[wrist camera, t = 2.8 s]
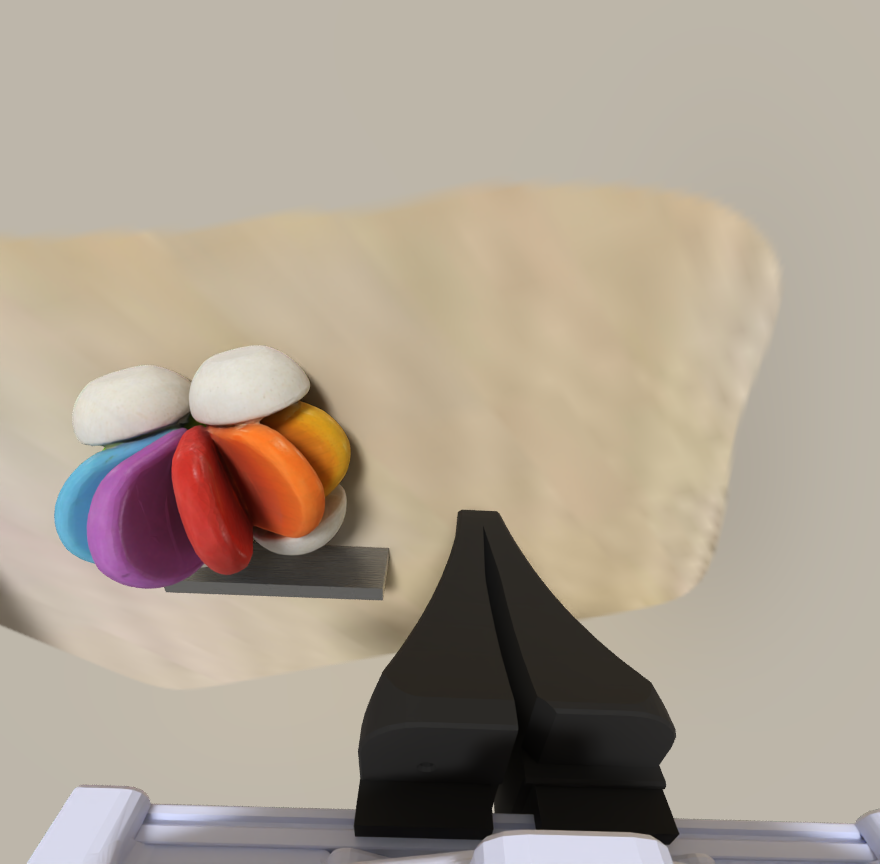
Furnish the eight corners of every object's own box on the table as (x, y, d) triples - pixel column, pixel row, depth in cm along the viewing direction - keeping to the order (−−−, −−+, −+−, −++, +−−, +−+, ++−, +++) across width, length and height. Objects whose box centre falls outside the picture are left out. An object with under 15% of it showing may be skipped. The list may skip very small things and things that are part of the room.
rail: (195, 551, 20) (166, 592, 18) (191, 540, 20) (161, 580, 18) (388, 559, 21) (382, 600, 18) (388, 548, 20) (382, 588, 18)
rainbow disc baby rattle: (379, 499, 19) (348, 643, 13) (191, 525, 20) (72, 672, 13) (326, 324, 15) (240, 406, 9) (92, 365, 16) (-146, 467, 9)
